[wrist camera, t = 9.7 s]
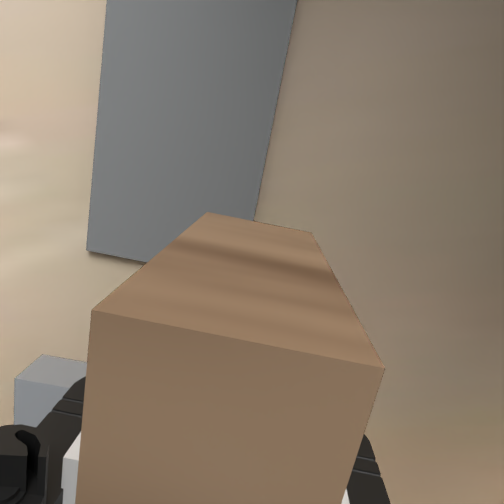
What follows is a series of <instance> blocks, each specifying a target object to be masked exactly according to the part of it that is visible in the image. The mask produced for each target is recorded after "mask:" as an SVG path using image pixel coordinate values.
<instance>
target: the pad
mask: <svg viewBox="0 0 504 504" xmlns="http://www.w3.org/2000/svg"><path fill="white" fill-rule="evenodd" d="M296 4H297V0H107V5H106V17H105V29H104V42H103V54H102V66H101V78H100V90H99V102H98V114H97V126H96V138H95V150H94V162H93V174H92V186H91V198H90V210H89V222H88V234H87V246H86V250H87V251H92V252H97V253H102V254H107V255H112V256H117V257H122V258H127V259H132V260H137V261H142V262H149V261H150V260H151V259H152V258H153V257H154V256H156V255H157V254H158V253H159V252H160V251H162V250H163V249H164V248H165V247H166V246H167V245H169V244H170V243H171V242H172V241H173V240H175V239H176V238H177V237H178V236H179V235H180V234H182V233H183V232H184V231H185V230H186V229H187V228H189V227H190V226H191V225H192V224H193V223H195V222H196V221H197V220H198V219H199V218H200V217H202V216H203V215H204V214H205V213H206V212H210V213H215V214H220V215H225V216H230V217H235V218H240V219H245V220H250V221H253V220H254V215H255V210H256V205H257V200H258V195H259V190H260V185H261V180H262V175H263V170H264V165H265V160H266V155H267V150H268V145H269V140H270V135H271V130H272V125H273V120H274V115H275V110H276V105H277V100H278V94H279V89H280V84H281V79H282V74H283V69H284V64H285V59H286V54H287V49H288V44H289V39H290V34H291V29H292V24H293V19H294V14H295V9H296Z"/></svg>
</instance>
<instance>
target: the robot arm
mask: <svg viewBox="0 0 504 504" xmlns="http://www.w3.org/2000/svg"><path fill="white" fill-rule="evenodd" d="M85 381H86V376H85V377H83V378H82V379H80V380H78V381H77V382H75V383H74V384H73V385H72V386H71V387H70V389H69V390H68V391H67V392H66V393H65V394H64V396H63V397H62V400H59V401H58V403H57V404H56V405H55V406H54V407H53V408H52V411H51V412H49V413H48V414H47V415H46V417H45V418H44V419H43V420H42V421H41V422H40V424H39V425H38V426H37V427H32V426H27V425H23V424H19V425H5V426H1V427H0V504H75V498H76V486H77V475H78V463H79V451H80V440H81V428H82V416H83V404H84V393H85ZM341 504H390V501H389V498H388V495H387V492H386V489H385V486H384V483H383V480H382V478H381V477H380V471H379V468H378V465H377V462H375V456H374V453H373V450H372V447H371V444H370V441H369V440H368V438H367V437H366V436H365V434H364V435H363V438H362V441H361V444H360V447H359V450H358V453H357V456H356V460H355V463H354V466H353V469H352V472H351V475H350V478H349V481H348V484H347V487H346V490H345V493H344V496H343V499H342V503H341Z"/></svg>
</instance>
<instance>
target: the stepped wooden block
mask: <svg viewBox="0 0 504 504" xmlns="http://www.w3.org/2000/svg"><path fill="white" fill-rule="evenodd" d="M384 370H385V367H384V365H383V364H382V362H381V360H380V358H379V356H378V354H377V353H376V351H375V349H374V347H373V345H372V343H371V341H370V340H369V338H368V336H367V334H366V332H365V330H364V329H363V327H362V325H361V323H360V321H359V319H358V318H357V316H356V314H355V312H354V310H353V308H352V306H351V305H350V303H349V301H348V299H347V297H346V295H345V294H344V292H343V290H342V288H341V286H340V284H339V282H338V281H337V279H336V277H335V275H334V273H333V271H332V270H331V268H330V266H329V264H328V262H327V260H326V259H325V257H324V255H323V253H322V251H321V249H320V247H319V246H318V244H317V242H316V240H315V238H314V236H313V235H312V233H310V232H305V231H300V230H295V229H290V228H285V227H280V226H275V225H270V224H265V223H260V222H255V221H250V220H245V219H240V218H235V217H230V216H225V215H220V214H215V213H210V212H206V213H205V214H204V215H203V216H202V217H200V218H199V219H198V220H197V221H196V222H195V223H193V224H192V225H191V226H190V227H189V228H187V229H186V230H185V231H184V232H183V233H182V234H180V235H179V236H178V237H177V238H176V239H175V240H173V241H172V242H171V243H170V244H169V245H167V246H166V247H165V248H164V249H163V250H162V251H160V252H159V253H158V254H157V255H156V256H154V257H153V258H152V259H151V260H150V261H149V262H147V263H146V264H145V265H144V266H143V267H141V268H140V269H139V270H138V271H137V272H136V273H134V274H133V275H132V276H131V277H130V278H129V279H127V280H126V281H125V282H124V283H123V284H121V285H120V286H119V287H118V288H117V289H116V290H114V291H113V292H112V293H111V294H110V295H108V296H107V297H106V298H105V299H104V300H103V301H101V302H100V303H99V304H98V305H97V306H95V307H94V308H93V309H92V311H91V323H90V334H89V346H88V358H87V369H86V381H85V393H84V404H83V416H82V428H81V440H80V451H79V463H78V475H77V486H76V498H75V504H341V503H342V499H343V496H344V493H345V490H346V487H347V484H348V481H349V478H350V475H351V472H352V469H353V466H354V463H355V460H356V456H357V453H358V450H359V447H360V444H361V441H362V438H363V435H364V432H365V429H366V426H367V423H368V420H369V417H370V413H371V410H372V407H373V404H374V401H375V398H376V395H377V392H378V389H379V386H380V383H381V380H382V377H383V374H384Z"/></svg>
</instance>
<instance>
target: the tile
mask: <svg viewBox="0 0 504 504" xmlns="http://www.w3.org/2000/svg"><path fill="white" fill-rule="evenodd" d="M86 369H87V362H82V361H76V360H71V359H65V358H60V357H54V356H48V355H43V354H42V355H41V356H40V357H39V358H38V359H37V360H35V361H34V362H33V363H32V364H31V365H30V366H28V367H27V368H26V369H25V370H24V371H23V372H21V373H20V374H19V375H18V376H17V377H16V378H15V388H14V425H19V424H23V425H27V426H32V427H37V426H38V425H39V424H40V422H41V421H42V420H43V419H44V418H45V417H46V415H47V414H48V413H49V412H51V411H52V408H53V407H54V406H55V405H56V404H57V403H58V401H59V400H62V397H63V396H64V394H65V393H66V392H67V391H68V390H69V389H70V387H71V386H72V385H73V384H74V383H75V382H77V381H78V380H80V379H82V378H83V377H85V376H86Z"/></svg>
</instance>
